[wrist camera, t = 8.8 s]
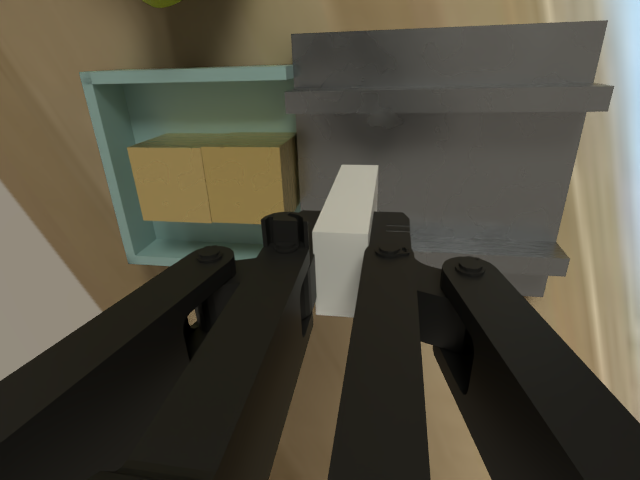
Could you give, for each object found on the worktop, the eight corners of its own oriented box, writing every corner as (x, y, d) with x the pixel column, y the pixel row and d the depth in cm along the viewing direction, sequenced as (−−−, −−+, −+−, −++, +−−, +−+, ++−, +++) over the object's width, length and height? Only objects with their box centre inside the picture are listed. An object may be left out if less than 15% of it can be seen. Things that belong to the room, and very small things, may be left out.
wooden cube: (230, 132, 23) (200, 146, 20) (298, 132, 23) (279, 147, 19) (238, 198, 25) (212, 222, 22) (301, 199, 24) (285, 225, 21)
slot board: (298, 35, 21) (280, 32, 18) (593, 22, 19) (631, 17, 16) (309, 270, 27) (297, 299, 24) (535, 283, 25) (554, 317, 21)
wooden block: (167, 133, 24) (126, 147, 21) (230, 133, 23) (200, 148, 20) (178, 197, 26) (143, 220, 22) (238, 198, 25) (211, 223, 22)
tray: (115, 69, 24) (78, 72, 21) (299, 64, 22) (285, 66, 19) (153, 243, 28) (128, 263, 26) (308, 251, 26) (298, 274, 24)
